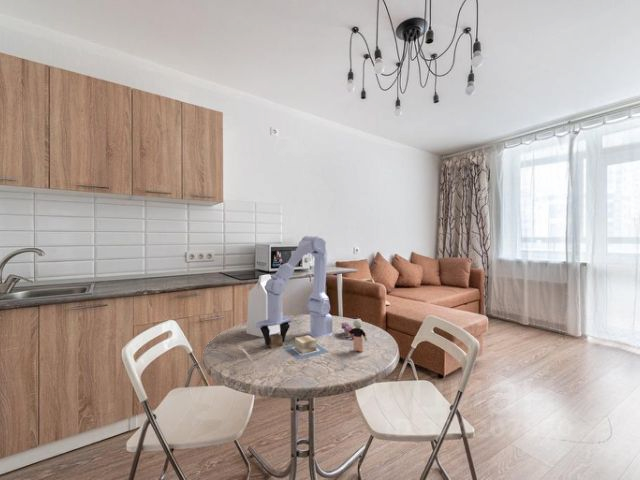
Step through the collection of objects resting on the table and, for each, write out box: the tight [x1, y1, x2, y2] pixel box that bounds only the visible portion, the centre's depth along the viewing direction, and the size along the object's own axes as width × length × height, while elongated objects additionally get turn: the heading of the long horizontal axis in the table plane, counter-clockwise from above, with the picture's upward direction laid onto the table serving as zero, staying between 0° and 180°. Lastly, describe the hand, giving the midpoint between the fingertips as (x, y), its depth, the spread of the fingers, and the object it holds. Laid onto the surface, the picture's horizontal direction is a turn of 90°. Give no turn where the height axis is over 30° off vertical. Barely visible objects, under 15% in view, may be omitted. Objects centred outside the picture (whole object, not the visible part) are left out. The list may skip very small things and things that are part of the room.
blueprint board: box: [282, 343, 329, 360], centre depth 111 cm, size 13×13×1 cm
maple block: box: [294, 334, 317, 354], centre depth 111 cm, size 6×6×4 cm
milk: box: [246, 274, 284, 338], centre depth 132 cm, size 12×12×26 cm
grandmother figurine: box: [347, 318, 368, 353], centre depth 110 cm, size 8×4×13 cm, turn 71°
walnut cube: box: [267, 332, 283, 349], centre depth 115 cm, size 4×4×4 cm
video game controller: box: [340, 321, 354, 340], centre depth 127 cm, size 10×5×7 cm, turn 5°
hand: (274, 343), depth 115 cm, fingers open, 6 cm apart
